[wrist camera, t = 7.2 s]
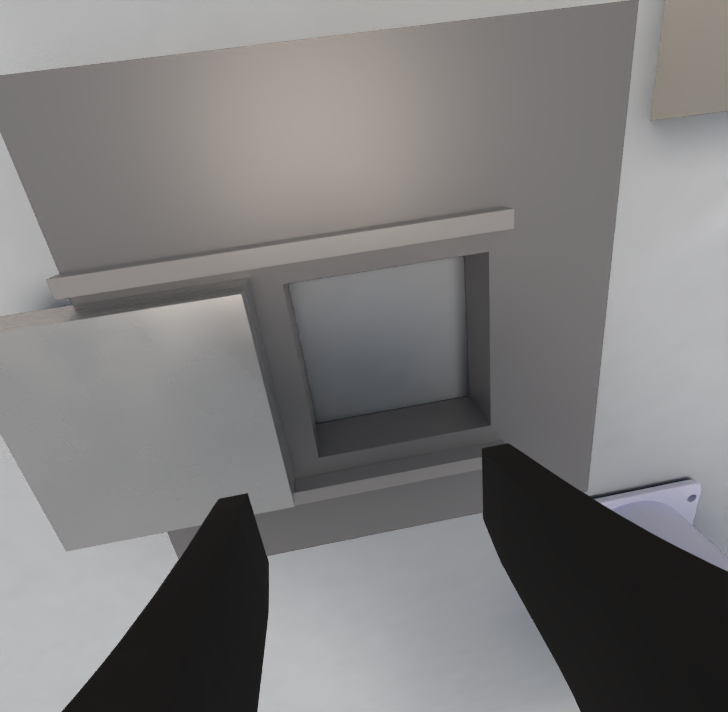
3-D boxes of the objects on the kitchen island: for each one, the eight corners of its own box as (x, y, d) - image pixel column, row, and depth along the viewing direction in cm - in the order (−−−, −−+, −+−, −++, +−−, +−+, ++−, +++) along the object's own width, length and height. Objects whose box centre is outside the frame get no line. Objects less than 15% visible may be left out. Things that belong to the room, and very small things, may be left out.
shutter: (294, 471, 17) (294, 506, 16) (91, 509, 17) (66, 551, 15) (248, 277, 14) (241, 293, 12) (-5, 317, 14) (-52, 340, 12)
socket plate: (557, 457, 22) (598, 503, 19) (196, 528, 21) (179, 589, 18) (586, 24, 15) (659, -11, 12) (31, 92, 14) (-44, 72, 11)
